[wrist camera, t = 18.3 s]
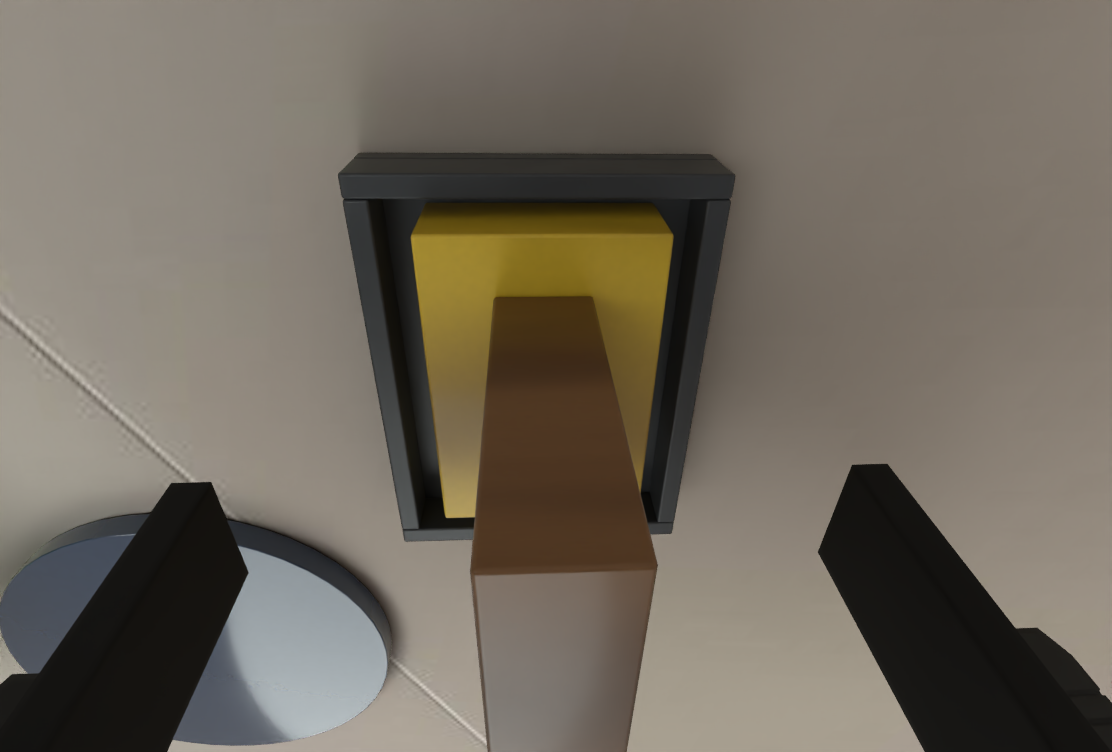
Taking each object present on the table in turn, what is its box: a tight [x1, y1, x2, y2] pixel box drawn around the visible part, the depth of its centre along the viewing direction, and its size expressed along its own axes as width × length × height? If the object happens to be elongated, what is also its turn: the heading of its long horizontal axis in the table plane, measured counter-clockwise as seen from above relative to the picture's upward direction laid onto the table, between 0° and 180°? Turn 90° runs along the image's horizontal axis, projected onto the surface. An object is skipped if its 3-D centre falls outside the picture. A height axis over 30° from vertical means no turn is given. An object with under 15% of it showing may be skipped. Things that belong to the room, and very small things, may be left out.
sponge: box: [411, 203, 674, 752], centre depth 13 cm, size 9×6×10 cm, turn 179°
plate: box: [0, 514, 392, 746], centre depth 25 cm, size 15×15×1 cm
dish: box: [338, 153, 735, 542], centre depth 18 cm, size 12×9×2 cm
